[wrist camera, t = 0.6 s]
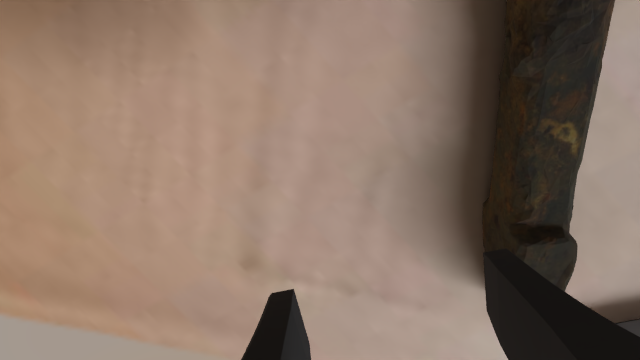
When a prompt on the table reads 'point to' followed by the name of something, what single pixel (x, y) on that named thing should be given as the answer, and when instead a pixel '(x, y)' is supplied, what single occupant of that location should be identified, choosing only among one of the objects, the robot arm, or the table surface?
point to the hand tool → (543, 129)
